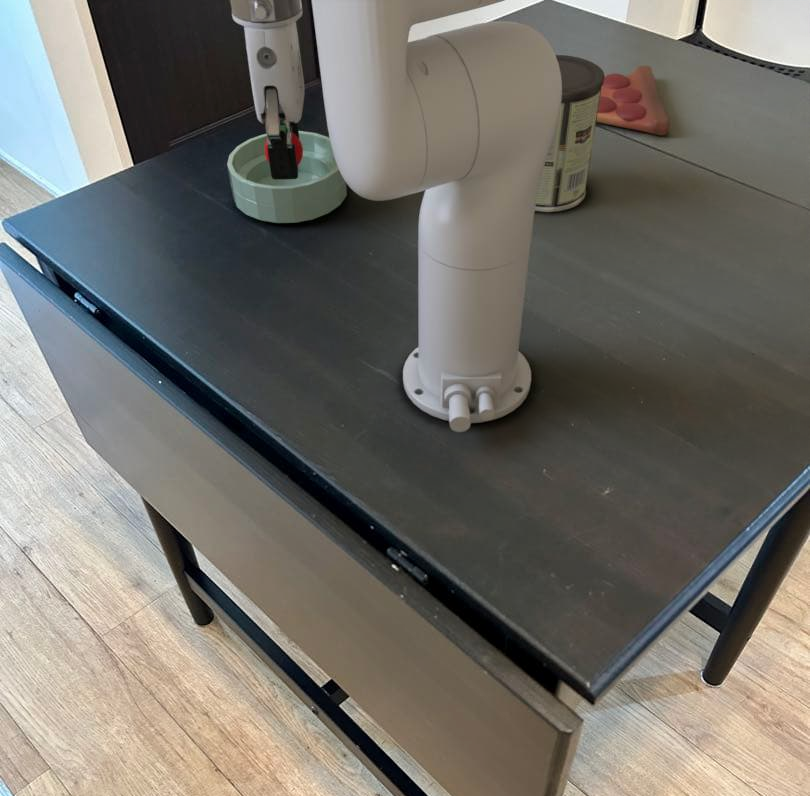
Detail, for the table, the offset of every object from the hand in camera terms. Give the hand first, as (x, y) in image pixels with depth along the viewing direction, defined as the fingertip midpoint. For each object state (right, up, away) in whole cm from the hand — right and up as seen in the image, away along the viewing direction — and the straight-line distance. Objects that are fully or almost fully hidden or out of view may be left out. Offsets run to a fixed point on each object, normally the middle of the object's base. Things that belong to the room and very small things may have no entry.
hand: (286, 165), depth 102 cm
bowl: (0, -3, +3) cm, 4 cm away
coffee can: (+32, -2, +3) cm, 32 cm away
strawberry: (0, 0, 0) cm, 1 cm away
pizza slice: (+41, +16, +17) cm, 47 cm away
